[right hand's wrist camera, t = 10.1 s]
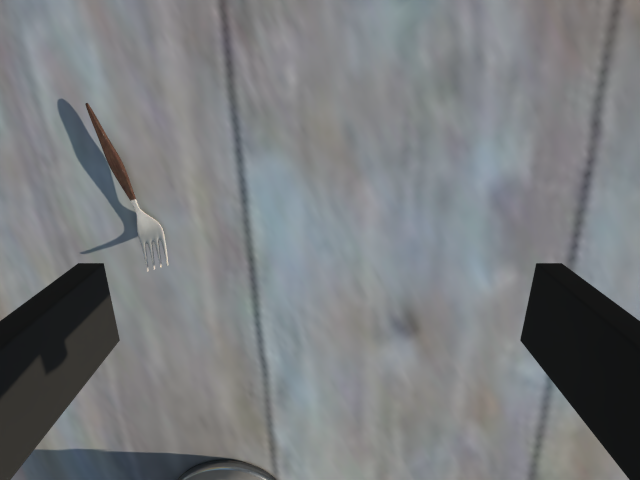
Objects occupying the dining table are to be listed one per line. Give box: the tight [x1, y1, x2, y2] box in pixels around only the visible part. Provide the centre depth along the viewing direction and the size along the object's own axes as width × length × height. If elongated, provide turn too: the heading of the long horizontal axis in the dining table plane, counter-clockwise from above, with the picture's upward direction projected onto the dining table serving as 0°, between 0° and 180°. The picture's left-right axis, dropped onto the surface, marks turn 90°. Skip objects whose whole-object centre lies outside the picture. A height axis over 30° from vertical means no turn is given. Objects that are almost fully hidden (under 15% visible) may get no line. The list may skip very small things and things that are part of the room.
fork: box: [86, 103, 168, 272], centre depth 38 cm, size 3×16×2 cm, turn 17°
